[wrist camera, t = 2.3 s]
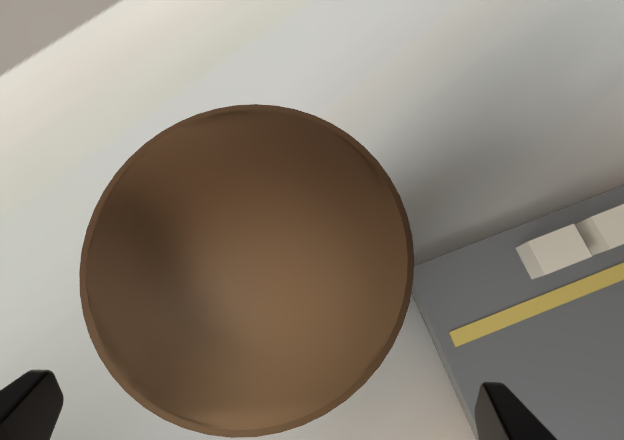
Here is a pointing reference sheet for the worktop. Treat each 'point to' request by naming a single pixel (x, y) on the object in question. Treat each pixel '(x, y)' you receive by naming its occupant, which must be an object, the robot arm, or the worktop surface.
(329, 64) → the worktop surface
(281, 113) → the mill
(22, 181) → the worktop surface
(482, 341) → the panel
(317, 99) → the worktop surface
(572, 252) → the set of cream blocks
